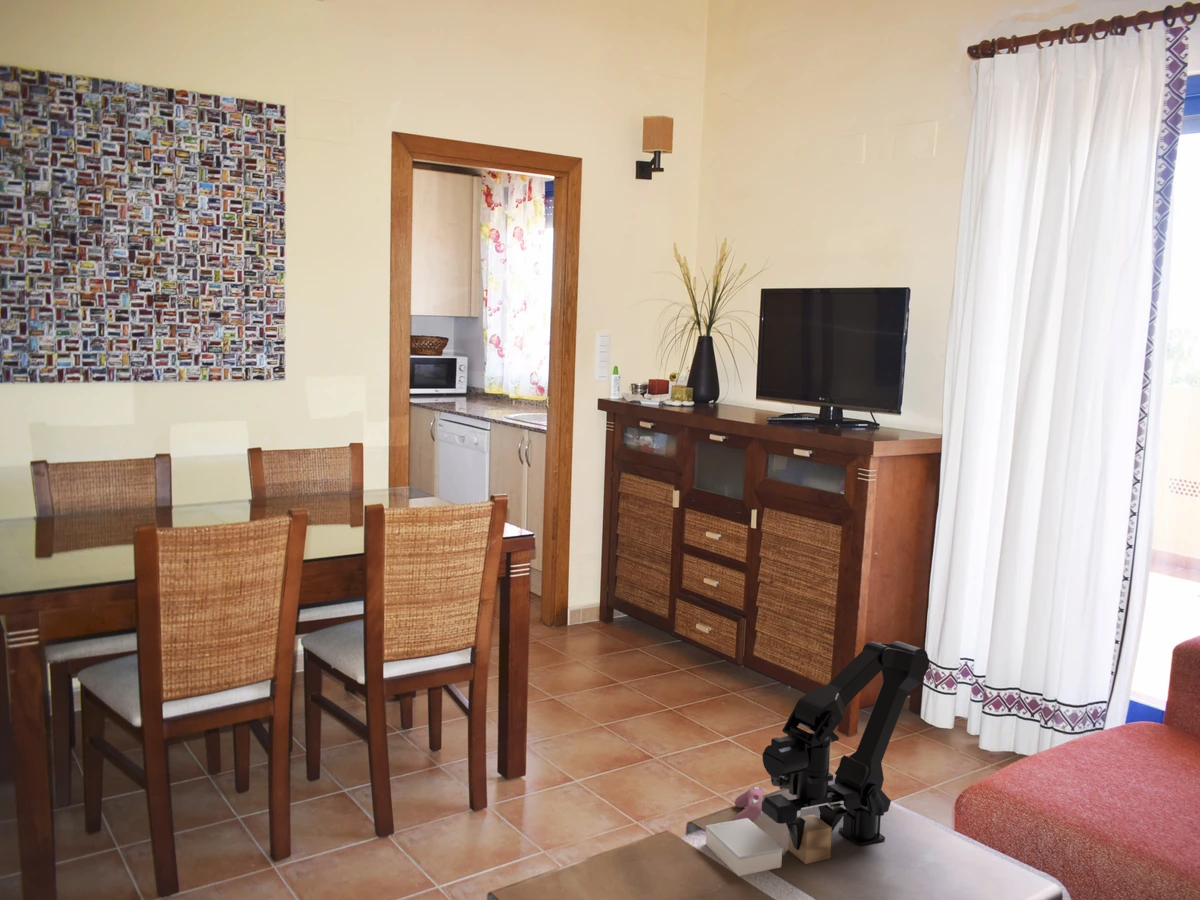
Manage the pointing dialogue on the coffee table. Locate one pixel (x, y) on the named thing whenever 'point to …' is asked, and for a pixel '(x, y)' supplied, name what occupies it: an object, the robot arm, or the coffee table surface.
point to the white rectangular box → (743, 846)
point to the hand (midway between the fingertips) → (809, 846)
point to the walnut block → (813, 841)
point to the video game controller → (750, 804)
